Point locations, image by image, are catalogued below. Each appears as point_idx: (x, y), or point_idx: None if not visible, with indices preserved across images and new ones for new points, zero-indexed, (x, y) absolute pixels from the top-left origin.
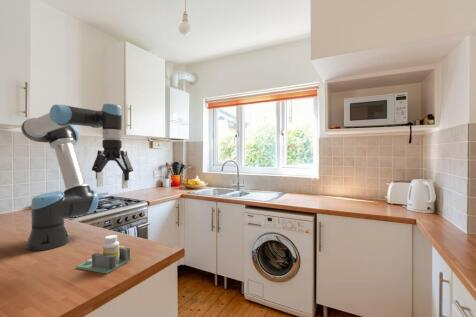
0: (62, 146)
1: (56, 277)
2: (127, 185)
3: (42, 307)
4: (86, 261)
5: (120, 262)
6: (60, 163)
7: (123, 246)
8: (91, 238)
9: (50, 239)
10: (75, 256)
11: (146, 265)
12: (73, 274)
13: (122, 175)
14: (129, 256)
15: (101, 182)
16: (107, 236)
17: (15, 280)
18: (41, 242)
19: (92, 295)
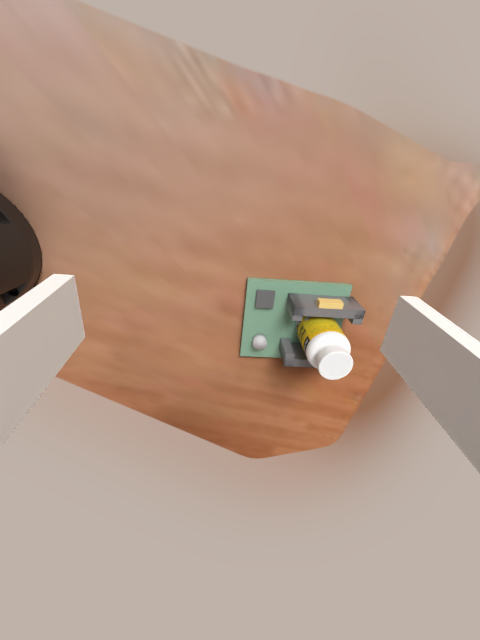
0: None
1: (234, 388)
2: (429, 311)
3: (294, 445)
4: (259, 349)
5: (337, 318)
6: None
7: (338, 303)
8: (59, 138)
9: (15, 286)
10: (174, 302)
11: None
12: (258, 373)
13: (478, 458)
14: (355, 301)
15: (54, 318)
16: (323, 367)
17: (166, 410)
18: (3, 299)
19: (348, 413)
